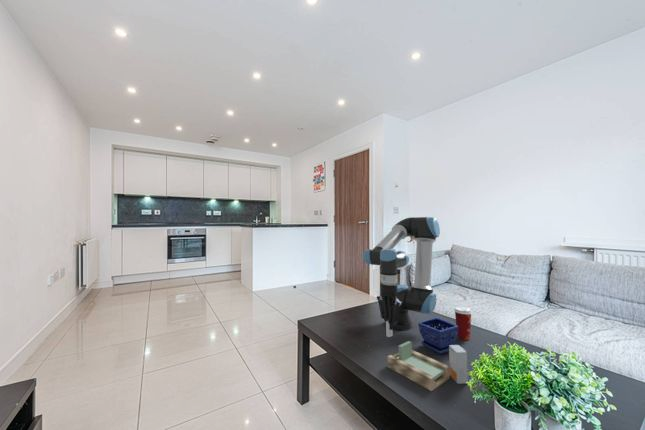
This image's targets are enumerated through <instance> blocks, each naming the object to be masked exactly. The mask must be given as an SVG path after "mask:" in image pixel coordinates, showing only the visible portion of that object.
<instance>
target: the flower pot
mask: <svg viewBox="0 0 645 430" xmlns="http://www.w3.org/2000/svg"><path fill="white" fill-rule="evenodd" d="M417 325H418V329H419V333H420V335H421V337H422V339H423V340H421V342H420V343H421V344H422V345H423V346H424V347H425V348H427V349H428V350H430V351H432V352H434V353H436V354H438V355H442V354H444V353H449V345H455V342H456V340H457V338H458V337H457V334H458V326H457V325H456V323H452V322H450V321H447V320H445V319H441V318H439V317H433V318H429V319H425V320H422V321H419V322H418V324H417Z"/></svg>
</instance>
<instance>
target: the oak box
mask: <svg viewBox="0 0 645 430" xmlns="http://www.w3.org/2000/svg"><path fill="white" fill-rule="evenodd" d="M398 356H399V352H397V353H394V354H393V355H392V354H389V355H387V367H388V369H390V370H392V371H395V373H398V374H400V375H402V376H404V377H405V378H406V379H409V380H410V381H412V382H415V383H416V384H417V385H419V386H421V387H423V388H425V389H427V390H429V391H430V392H432V391H434V390H435V389H437V388H438V387H440V386H441V385H442V384H443V383H445V382H446V381H448V380H449V379H450V377H451V375H450V365H447V364H445V363H443V362H440V361H439V360H437V359H434V358H431V357H429V356H427V355H424V354H423V353H421V352H418V351H416V350H414V349H412V356H415V357H417V358H419V359H421V360H423V361H425V362H428V363H430V364H432V365H434V366H436V367H438V368H440V369H443V370H444V374H442V375H441V376H439V377H438V378H437V379H435V380H434V376H432V375H430V374H428V373H426V372H424V371H422V370H420V369H418V368H416V367H414V366H412V365H410V364H408V363H406V362H404V361H402V360H400V359H398V358H396V357H398Z"/></svg>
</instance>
